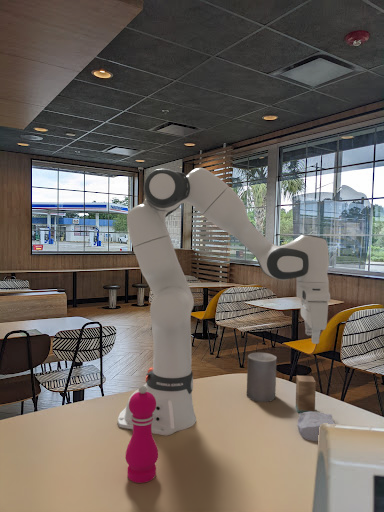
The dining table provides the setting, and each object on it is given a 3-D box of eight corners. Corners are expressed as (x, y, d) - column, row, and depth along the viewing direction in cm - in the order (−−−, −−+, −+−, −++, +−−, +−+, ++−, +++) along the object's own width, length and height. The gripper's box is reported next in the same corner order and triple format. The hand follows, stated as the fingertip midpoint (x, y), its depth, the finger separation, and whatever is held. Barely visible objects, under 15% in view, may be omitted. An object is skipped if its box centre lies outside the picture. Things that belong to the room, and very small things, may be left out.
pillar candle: (243, 391, 135) (244, 348, 135) (270, 390, 137) (271, 348, 136) (250, 402, 126) (251, 357, 125) (279, 401, 127) (280, 356, 126)
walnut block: (298, 413, 118) (298, 381, 118) (295, 406, 123) (296, 375, 123) (314, 414, 118) (315, 382, 117) (311, 407, 123) (312, 376, 122)
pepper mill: (129, 488, 81) (130, 394, 80) (121, 469, 88) (122, 382, 87) (162, 480, 84) (163, 389, 83) (152, 462, 91) (153, 378, 90)
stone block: (301, 447, 103) (340, 443, 101) (297, 428, 103) (336, 425, 101) (297, 427, 114) (332, 424, 112) (294, 411, 114) (329, 407, 112)
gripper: (295, 286, 122) (295, 330, 122) (307, 295, 102) (306, 347, 102) (316, 287, 121) (316, 330, 122) (332, 296, 101) (331, 348, 101)
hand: (312, 338), depth 112 cm, fingers open, 8 cm apart
